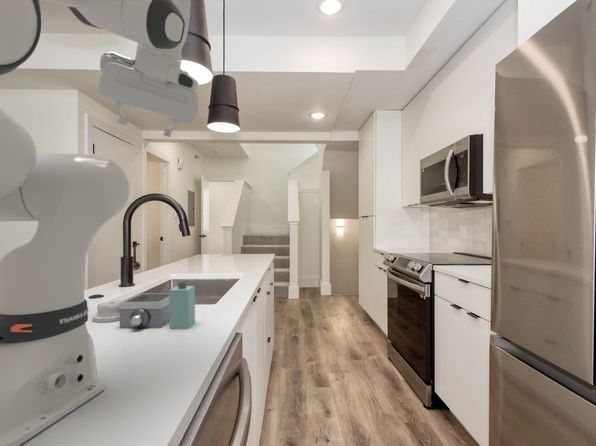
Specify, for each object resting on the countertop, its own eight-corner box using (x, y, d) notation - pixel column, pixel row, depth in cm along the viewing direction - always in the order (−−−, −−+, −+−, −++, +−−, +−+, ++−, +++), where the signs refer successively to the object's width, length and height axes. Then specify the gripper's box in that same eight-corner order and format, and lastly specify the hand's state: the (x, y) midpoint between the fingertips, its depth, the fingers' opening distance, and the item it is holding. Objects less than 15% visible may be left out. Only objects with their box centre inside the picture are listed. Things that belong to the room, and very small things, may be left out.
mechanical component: (84, 323, 89) (119, 323, 89) (83, 307, 89) (119, 307, 89) (106, 313, 99) (138, 313, 99) (106, 298, 99) (138, 298, 99)
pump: (188, 328, 83) (188, 282, 83) (169, 328, 83) (168, 282, 83) (195, 322, 88) (194, 278, 88) (176, 322, 88) (176, 278, 88)
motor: (156, 331, 81) (156, 305, 81) (113, 331, 81) (112, 306, 81) (177, 314, 95) (177, 293, 95) (140, 315, 95) (140, 293, 95)
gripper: (99, 47, 63) (90, 118, 67) (205, 85, 72) (191, 145, 76) (104, 48, 68) (95, 113, 72) (202, 83, 77) (189, 139, 82)
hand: (145, 130), depth 74 cm, fingers open, 8 cm apart
